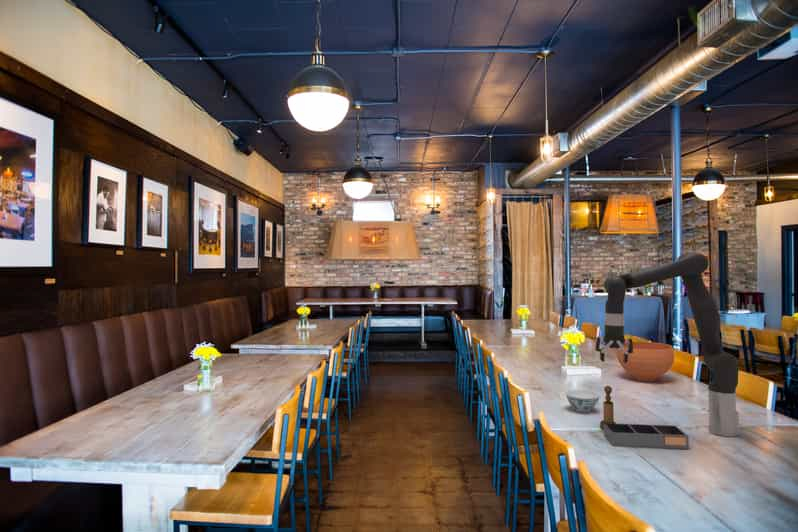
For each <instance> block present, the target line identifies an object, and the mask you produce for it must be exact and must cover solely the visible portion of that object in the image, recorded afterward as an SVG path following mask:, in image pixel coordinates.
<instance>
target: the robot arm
mask: <svg viewBox="0 0 798 532" xmlns="http://www.w3.org/2000/svg"><path fill="white" fill-rule="evenodd" d="M709 264H710V263H709V259H708V257H707V256H706V255H704V254H702V253H699V252H685V253H684V252H683V253H682V254H680V255H679V256H678V257H677V259H676V261H672V262H669V263H664V264H659V265H654V266H647V267H644V268H641V269H637V270H632V271H630V272H627V273H623V274H619V275H617V274H616V275H613V276H610V277H608V278H606V279H605V281H604V282H603V287H604V290H606V292H607V300H606V301H605V305H604V306H605V307H604V310H605V313H604V327H603V328H604V329H603V330H604V332H603V333H604V336H603V337H601V336H596V338H595V347H594V349H595V351H596V352H599V353H600V354H599V358H600V361H601V362H602V363H605V352H606V351H607V350H608V349H609V348H610V349H617V348H621V349H622V351H623V352H624V354H623V362H624V363H626V362H628V354H629V353H633V342H632V341H633V339H632V338H631V337H628V338H625V316H624V313H625V311H624V301H625V297H626V291H627V290H628V289H635V288H636V289H638V288H642V287H645V286H648V285H652V284H655V283H659V282H662V281H665V280H669V279H673V278H678V277H681V280H682V282H683V285H684V287H685V290H686V295H687V299H688V302H689V306H690V310H691V315H692V318H693V320H694V323H695V327H696V332H697V334H698V336H699V340H700V346H701V351H702V356H703V361H704V365H705V366H706V368H707V369H708V370H710V371H712V372H713V373H712V374H713V375H712V381H709V382H708V384H707V388H708V389H707V390H708V431H709V433H712V434H713V433H714V435H716V436H721V435H722V437H734V436H733V435H740V423H739V420H740V419H739V411H737V395H736V392H737V391H736V390H737V387H738V384H739V362H738V360H737V359H738V358H736V357H735V355H733V354H731V353H729V352H725V350H724V348H723V345H722V343H721V339H720V329H721V324H722V323H721V320H722V319H721V315H720V312H719V311H720V310H719V307H718V305H717V302H716V300H715V298H714V297H713V295H712V293H711V292H710V291H709V289H708V287H707V286H706V284H705V282H704V278H703V275H702V274H703V273H705V272H706V271H707V269H708V268H709ZM603 342H604V344H603V345H602V347H601V343H603ZM624 342H626V343H627V344H628V350H626V349H625V348H624V346H623V343H624ZM600 347H601V348H600Z"/></svg>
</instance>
